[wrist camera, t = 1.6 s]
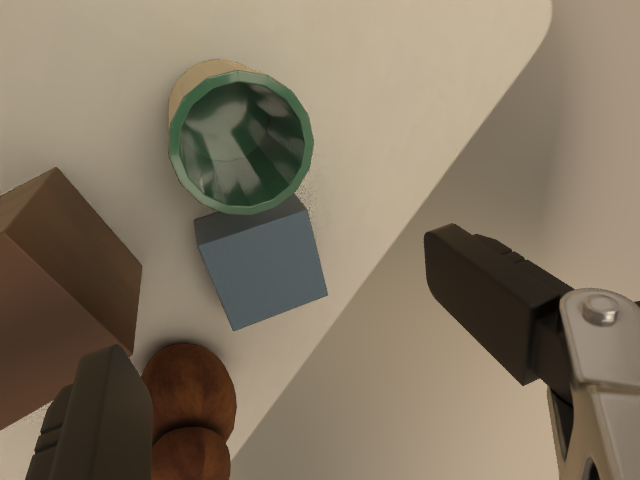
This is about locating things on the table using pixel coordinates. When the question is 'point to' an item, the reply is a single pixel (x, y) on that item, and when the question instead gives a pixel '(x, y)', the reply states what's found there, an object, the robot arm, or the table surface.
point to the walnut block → (57, 291)
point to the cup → (237, 137)
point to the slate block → (261, 261)
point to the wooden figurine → (190, 414)
